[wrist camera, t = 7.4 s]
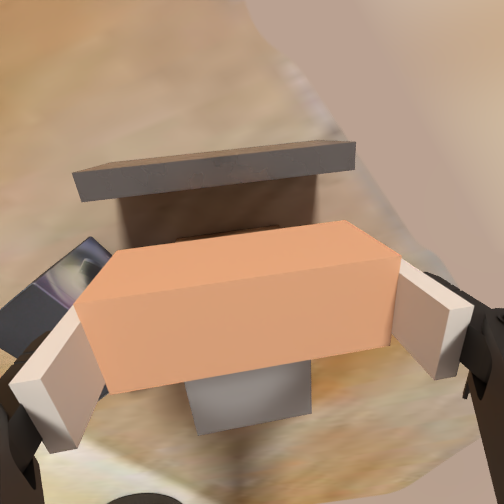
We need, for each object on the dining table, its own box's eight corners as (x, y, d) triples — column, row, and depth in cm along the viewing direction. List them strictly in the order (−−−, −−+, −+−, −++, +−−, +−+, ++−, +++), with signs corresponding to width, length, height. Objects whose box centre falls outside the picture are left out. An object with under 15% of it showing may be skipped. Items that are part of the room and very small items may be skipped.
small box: (167, 299, 32) (149, 367, 23) (126, 330, 33) (91, 409, 24) (92, 232, 28) (32, 281, 19) (47, 270, 29) (-32, 336, 20)
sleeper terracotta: (138, 321, 15) (109, 394, 10) (116, 250, 13) (72, 304, 9) (342, 289, 15) (390, 345, 11) (345, 220, 14) (401, 255, 10)
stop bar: (116, 184, 27) (81, 202, 20) (110, 162, 26) (71, 172, 19) (317, 161, 29) (354, 169, 21) (317, 140, 28) (355, 141, 21)
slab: (199, 401, 32) (197, 435, 29) (174, 298, 27) (169, 324, 23) (300, 383, 33) (311, 413, 30) (296, 279, 28) (309, 301, 24)
